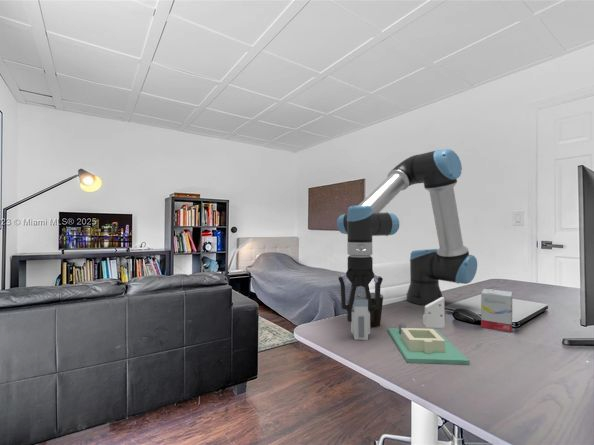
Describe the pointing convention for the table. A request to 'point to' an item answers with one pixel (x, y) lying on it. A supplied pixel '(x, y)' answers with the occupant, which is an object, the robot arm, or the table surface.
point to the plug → (360, 318)
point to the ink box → (496, 310)
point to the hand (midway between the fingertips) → (360, 331)
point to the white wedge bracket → (434, 314)
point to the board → (425, 346)
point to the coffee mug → (377, 312)
